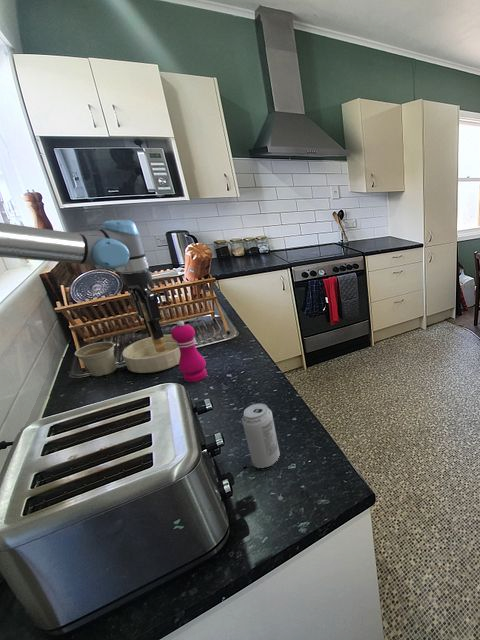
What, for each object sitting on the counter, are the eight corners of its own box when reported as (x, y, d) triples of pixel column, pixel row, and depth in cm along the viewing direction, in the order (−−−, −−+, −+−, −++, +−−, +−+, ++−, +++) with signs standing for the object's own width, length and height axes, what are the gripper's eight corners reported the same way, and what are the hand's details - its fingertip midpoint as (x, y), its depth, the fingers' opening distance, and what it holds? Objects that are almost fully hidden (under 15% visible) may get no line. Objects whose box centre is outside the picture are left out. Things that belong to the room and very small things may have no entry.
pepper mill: (213, 371, 115) (199, 317, 107) (198, 384, 109) (182, 326, 100) (193, 370, 116) (177, 315, 108) (177, 382, 109) (158, 325, 101)
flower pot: (113, 377, 110) (104, 354, 107) (78, 381, 108) (67, 357, 105) (128, 362, 119) (120, 340, 115) (95, 365, 116) (85, 343, 113)
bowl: (144, 380, 109) (138, 364, 107) (118, 365, 117) (112, 349, 115) (200, 357, 123) (195, 342, 121) (173, 344, 131) (169, 330, 129)
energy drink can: (261, 450, 85) (250, 400, 79) (285, 452, 84) (275, 402, 78) (247, 469, 79) (234, 418, 73) (272, 472, 79) (261, 420, 73)
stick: (158, 353, 119) (140, 299, 111) (154, 351, 121) (136, 297, 112) (167, 350, 122) (150, 296, 113) (163, 347, 123) (146, 295, 115)
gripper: (161, 272, 109) (180, 338, 118) (136, 264, 116) (156, 327, 125) (133, 278, 103) (156, 347, 112) (108, 269, 110) (132, 335, 119)
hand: (156, 336), depth 119 cm, fingers closed on stick, 3 cm apart
